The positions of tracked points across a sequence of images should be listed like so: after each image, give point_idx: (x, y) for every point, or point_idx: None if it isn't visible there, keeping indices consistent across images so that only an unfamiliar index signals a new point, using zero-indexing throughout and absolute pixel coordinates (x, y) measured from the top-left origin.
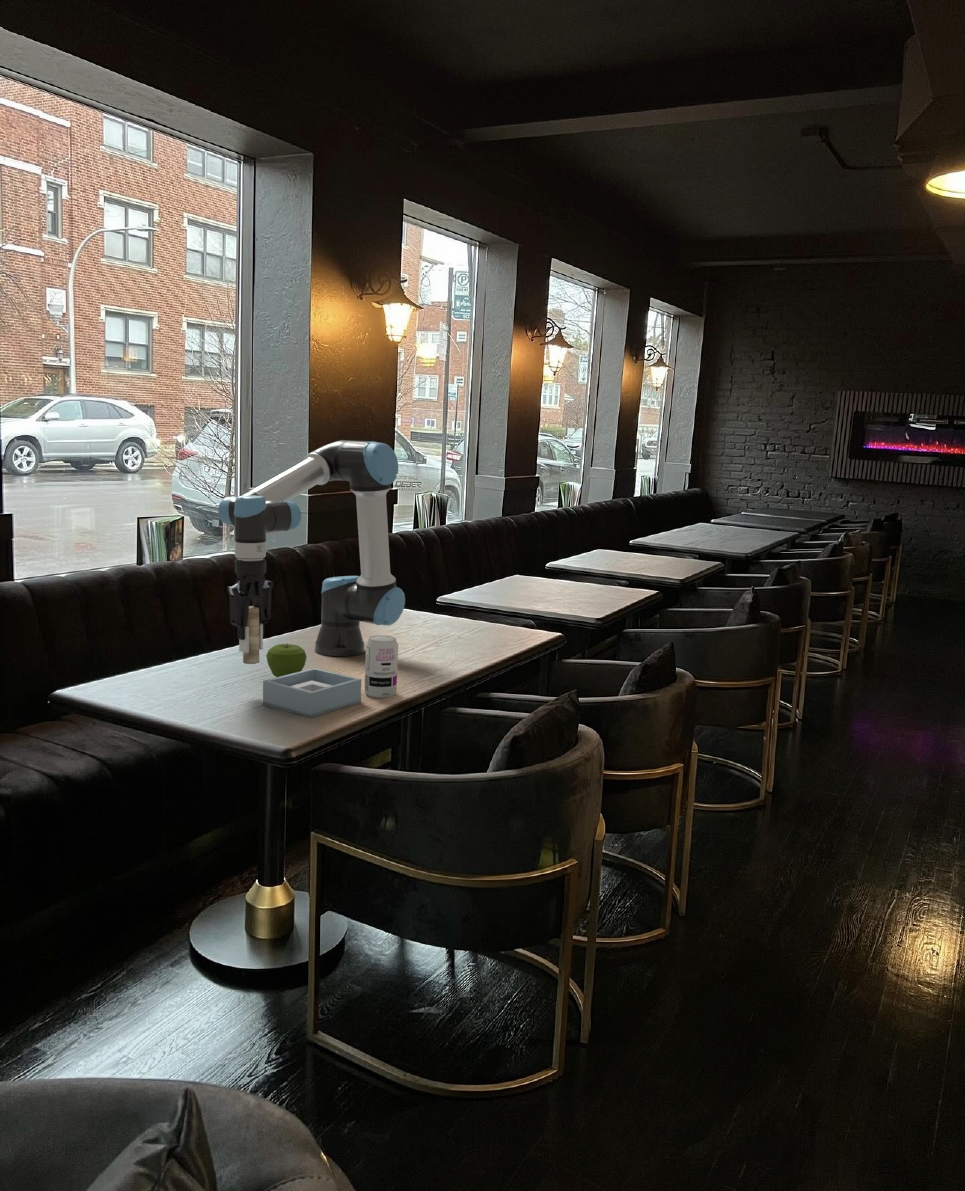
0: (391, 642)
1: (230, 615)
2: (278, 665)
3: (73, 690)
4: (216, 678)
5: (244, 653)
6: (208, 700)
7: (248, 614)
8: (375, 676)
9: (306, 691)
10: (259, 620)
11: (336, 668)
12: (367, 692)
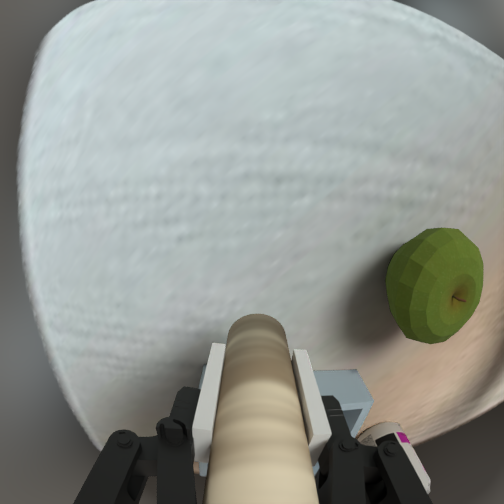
0: None
1: (92, 471)
2: (389, 300)
3: (70, 14)
4: (318, 116)
5: (225, 353)
6: (144, 251)
7: None
8: None
9: (202, 469)
10: (322, 467)
11: (491, 287)
12: (359, 439)
